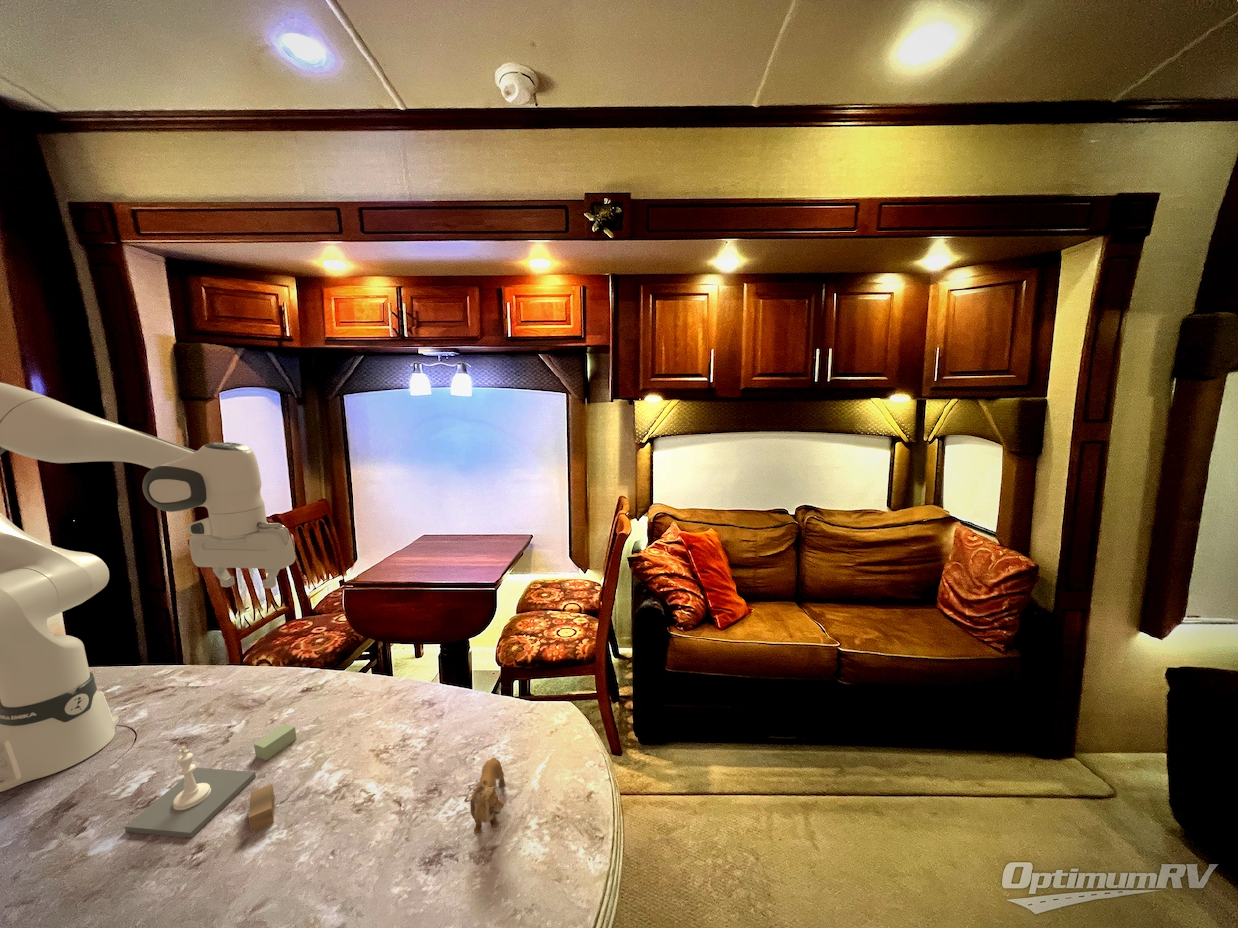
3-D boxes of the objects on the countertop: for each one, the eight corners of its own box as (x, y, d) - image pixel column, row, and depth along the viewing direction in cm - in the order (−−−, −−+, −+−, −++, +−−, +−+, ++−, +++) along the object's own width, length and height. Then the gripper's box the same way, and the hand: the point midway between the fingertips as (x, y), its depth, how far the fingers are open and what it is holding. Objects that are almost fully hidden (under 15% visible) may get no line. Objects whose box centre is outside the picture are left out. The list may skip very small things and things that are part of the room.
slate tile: (125, 831, 76) (124, 826, 76) (197, 771, 88) (196, 767, 88) (191, 837, 75) (190, 832, 75) (255, 776, 87) (255, 771, 87)
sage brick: (265, 761, 91) (263, 747, 90) (255, 757, 92) (253, 743, 91) (296, 739, 96) (294, 726, 96) (286, 735, 97) (285, 723, 97)
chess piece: (190, 811, 79) (180, 759, 77) (164, 808, 79) (154, 757, 77) (218, 787, 83) (210, 737, 82) (194, 784, 84) (185, 735, 82)
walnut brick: (253, 806, 81) (250, 791, 80) (274, 797, 82) (272, 783, 82) (251, 833, 76) (248, 817, 75) (273, 823, 78) (271, 807, 77)
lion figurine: (506, 846, 73) (503, 796, 72) (471, 855, 72) (467, 804, 70) (505, 772, 87) (502, 729, 86) (475, 778, 86) (472, 735, 84)
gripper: (298, 518, 96) (307, 581, 98) (209, 517, 98) (219, 578, 100) (273, 527, 90) (283, 594, 92) (178, 526, 92) (189, 591, 94)
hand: (249, 586), depth 96 cm, fingers open, 8 cm apart
